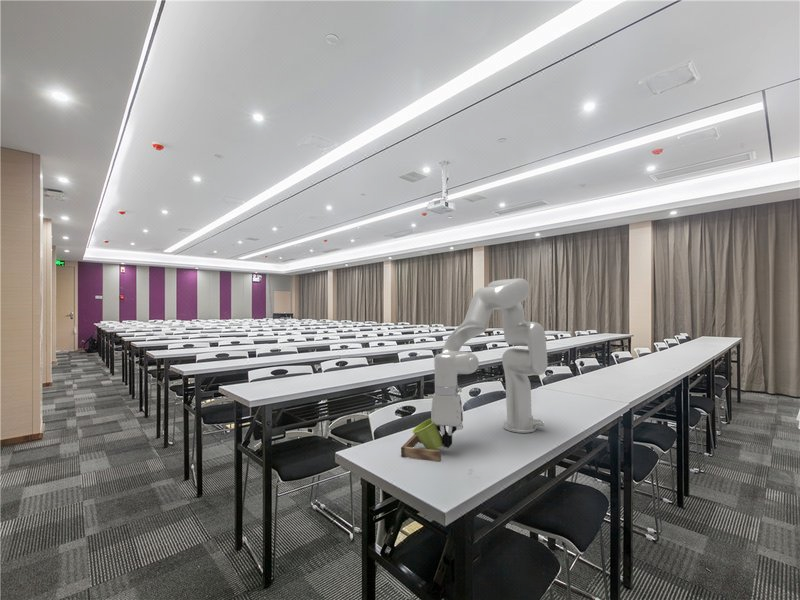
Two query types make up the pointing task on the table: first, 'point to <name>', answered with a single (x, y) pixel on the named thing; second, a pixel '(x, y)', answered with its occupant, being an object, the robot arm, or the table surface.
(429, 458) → the dock
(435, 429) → the plant pot
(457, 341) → the robot arm
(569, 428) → the table surface
